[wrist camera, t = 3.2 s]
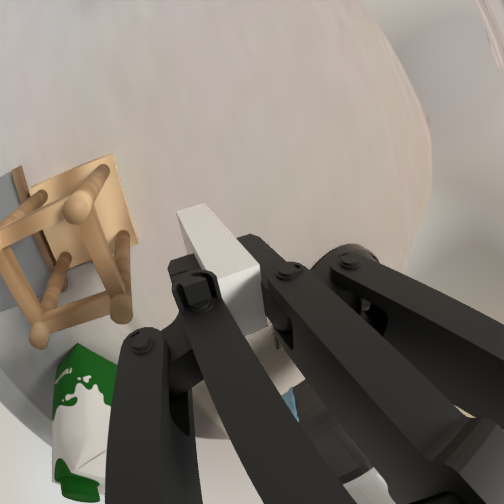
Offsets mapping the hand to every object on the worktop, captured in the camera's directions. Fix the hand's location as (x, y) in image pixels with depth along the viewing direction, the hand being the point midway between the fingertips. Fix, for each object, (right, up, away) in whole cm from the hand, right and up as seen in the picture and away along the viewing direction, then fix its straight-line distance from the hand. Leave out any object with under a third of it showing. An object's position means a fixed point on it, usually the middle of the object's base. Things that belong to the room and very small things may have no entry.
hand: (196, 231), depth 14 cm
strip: (-19, +1, +7) cm, 20 cm away
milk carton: (-20, -17, +16) cm, 31 cm away
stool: (-14, +3, +9) cm, 17 cm away
